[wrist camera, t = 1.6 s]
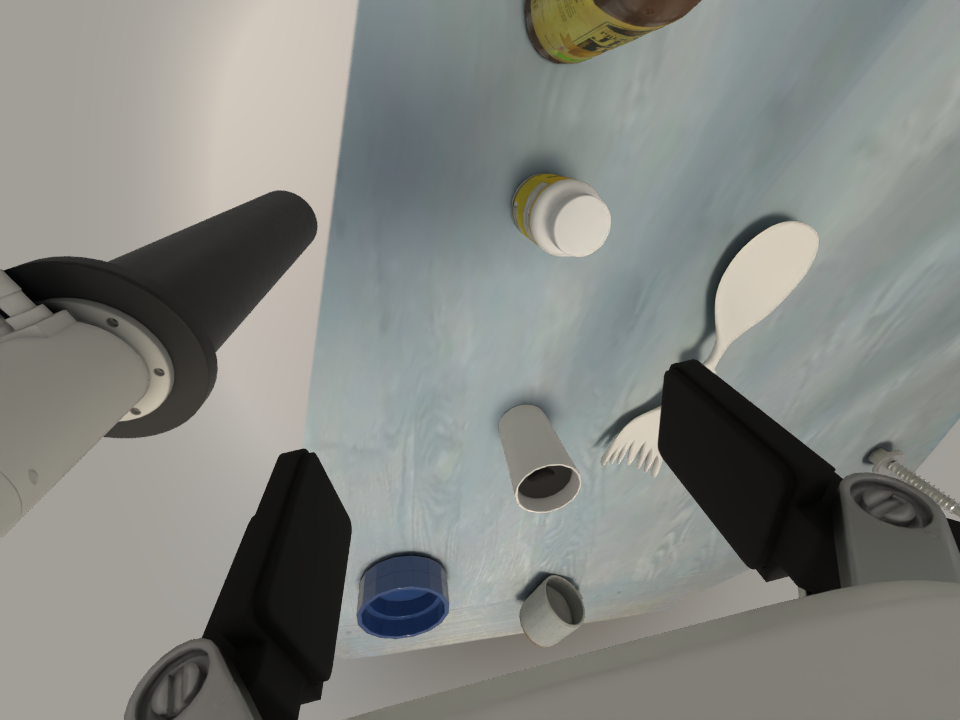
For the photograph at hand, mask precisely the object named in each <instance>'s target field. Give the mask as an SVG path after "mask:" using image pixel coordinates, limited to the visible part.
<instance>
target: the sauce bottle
mask: <svg viewBox="0 0 960 720" xmlns="http://www.w3.org/2000/svg"><path fill="white" fill-rule="evenodd" d="M700 1H701V0H527V1H526V10H525V14H526V19H527V27H528V33H529V37H530V39H531V41H532V43H533V44H534V46H535V48H536V50H537V51H538V52H539V53H540V54H541V55H542V56H543V57H545V58H547V59H549V60H550V61H552V62H554V63H558V64H559V63H560V64H561V63H563V64H565V63H579V62H582V61H585V60H588V59H590V58H592V57H595V56H597V55H600V54H602V53H604V52H606V51H608V50H611V49H614V48H616V47H618V46H621V45H624V44H626V43H628V42H631V41H633V40H635V39H637V38H638V37H641V36H643V35H645V34H647V33H649V32H652V31H655V30H657V29H660V28H662V27H664V26H666V25H668V24H671V23H673V22H675V21H677V20H679V19H680V18H682V17H683V16H685V15H686V14H687V13H688V12H689V11H690V10H691V9H692V8H694V7H695V6H696V5H697V4H698V3H699V2H700Z"/></svg>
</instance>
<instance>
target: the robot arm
mask: <svg viewBox="0 0 960 720" xmlns="http://www.w3.org/2000/svg"><path fill="white" fill-rule="evenodd" d="M21 290H22V289H21V288H20V287H19V286H18V285H17V284H16V283H15V282H14V281H13V280H12V279H11V278H10V277H9V276H8V275H7V274H6V273H5V272H4V271H3V270H0V308H1V309H2V310H3V311H4V312H5V313H6V314H7V315H9V316H10V317H9V318H7V319H5V318H3V317H2V316H1V315H0V539H1V538H2V537H3V536H4V535H5V534H6V533H7V532H8V531H9V530H10V529H11V528H12V527H13V526H14V525H15V524H16V523H17V522H18V521H19V520H20V519H21V518H22V517H23V516H24V515H25V514H26V513H27V512H28V511H29V510H30V509H31V508H32V507H33V506H34V505H35V504H36V503H37V502H38V501H39V500H40V499H41V498H42V497H43V496H44V495H45V494H46V493H47V492H48V491H49V490H50V489H51V488H52V487H53V486H54V485H55V484H56V483H57V482H58V481H59V480H60V479H61V478H62V477H63V476H64V475H65V474H66V473H67V472H68V471H69V470H70V469H71V468H72V467H73V466H74V465H75V464H76V463H77V462H78V461H79V460H80V459H81V458H82V457H83V456H84V455H85V454H86V453H87V452H88V451H89V450H90V449H91V448H92V447H93V446H94V445H95V444H96V443H97V442H98V441H99V440H100V439H101V438H102V437H103V436H104V435H105V434H106V433H107V432H108V431H109V430H110V429H111V428H112V427H113V426H114V425H115V424H116V423H117V422H118V421H128V420H132V419H136V418H140V417H142V416H145V415H147V414H149V413H151V412H152V411H154V410H155V409H156V408H158V407H159V406H160V405H161V404H162V403H163V402H164V401H165V400H166V398H167V397H168V395H169V394H170V392H171V391H172V387H173V384H174V368H173V364H172V360H171V358H170V356H169V354H168V352H167V350H166V348H165V347H164V346H163V344H162V343H161V342H160V340H159V339H158V338H157V337H156V336H155V335H154V334H153V333H152V332H151V331H150V330H149V329H148V328H147V327H145V326H144V325H143V324H141V323H140V322H138V321H137V320H136V319H134V318H133V317H131V316H129V315H127V314H125V313H123V312H122V311H120V310H118V309H115V308H112V307H110V306H107V305H105V304H102V303H98V302H94V301H90V300H86V299H78V298H68V297H67V298H50V299H46V300H41V301H37V302H35V303H33V302H32V301H31V300H30V299H29V298H28V297H27V296H26V295H25V294H24V293H23V292H22V291H21ZM658 450H659V453H660V455H661V457H662V458H663V460H664V461H665V462H666V463H667V465H668V466H669V467H670V469H671V470H672V471H673V472H674V474H675V475H676V476H677V478H678V479H679V480H680V481H681V483H682V484H683V485H684V487H685V488H686V489H687V490H688V492H689V493H690V494H691V495H692V497H693V498H694V499H695V501H696V502H697V503H698V504H699V506H700V507H701V508H702V510H703V511H704V512H705V513H706V515H707V516H708V517H709V519H710V520H711V521H712V522H713V524H714V525H715V526H716V528H717V529H718V530H719V531H720V533H721V534H722V535H723V536H724V538H725V539H726V540H727V542H728V543H729V544H730V545H731V547H732V548H733V549H734V551H735V552H736V553H737V554H738V556H739V557H740V558H741V560H742V561H743V562H744V563H745V564H746V565H747V566H748V567H749V568H751V569H756V570H757V571H758V572H759V574H760V575H761V576H762V577H763V579H764V580H765V581H766V582H769V581H773V580H776V579H780V578H784V577H788V576H789V577H790V578H791V579H792V580H793V581H794V583H795V584H796V585H797V586H798V592H799V598H798V599H794V600H790V601H785V602H781V603H777V604H773V605H769V606H764V607H761V608H757V609H753V610H749V611H745V612H741V613H738V614H734V615H730V616H726V617H722V618H718V619H714V620H711V621H707V622H703V623H699V624H696V625H691V626H688V627H684V628H680V629H676V630H672V631H668V632H665V633H661V634H657V635H653V636H650V637H645V638H642V639H638V640H634V641H630V642H627V643H623V644H619V645H615V646H612V647H608V648H604V649H600V650H597V651H593V652H589V653H585V654H581V655H578V656H574V657H570V658H566V659H563V660H559V661H556V662H551V663H548V664H544V665H540V666H536V667H533V668H529V669H525V670H522V671H518V672H514V673H510V674H507V675H503V676H499V677H496V678H492V679H488V680H485V681H481V682H477V683H473V684H470V685H466V686H462V687H459V688H455V689H451V690H448V691H444V692H441V693H437V694H433V695H430V696H426V697H422V698H419V699H415V700H412V701H408V702H404V703H400V704H397V705H393V706H389V707H385V708H382V709H378V710H375V711H372V712H368V713H365V714H361V715H358V716H355V717H351V718H348V719H344V720H960V522H958V521H955V520H952V519H948V518H946V516H945V515H944V513H943V511H942V510H941V508H940V507H939V505H938V504H937V503H936V502H935V501H934V500H932V499H931V498H930V497H929V496H928V495H927V494H925V493H924V492H922V491H920V490H919V489H917V488H916V487H914V486H912V485H910V484H908V483H905V482H903V481H901V480H899V479H896V478H892V477H889V476H886V475H882V474H875V473H854V474H851V475H849V476H846V477H845V478H844V479H842V478H841V477H840V476H839V475H837V474H836V473H835V472H834V471H835V468H834V467H833V466H831V465H830V464H829V463H828V462H826V461H825V460H824V459H822V458H821V457H820V456H819V455H817V454H816V453H815V452H814V451H812V450H811V449H810V448H808V447H807V446H806V445H805V444H803V443H802V442H801V441H800V440H798V439H797V438H796V437H794V436H793V435H792V434H791V433H789V432H788V431H787V430H786V429H784V428H783V427H782V426H780V425H779V424H778V423H777V422H775V421H774V420H773V419H772V418H770V417H769V416H768V415H766V414H765V413H764V412H763V411H761V410H760V409H759V408H758V407H756V406H755V405H754V404H753V403H751V402H750V401H749V400H747V399H746V398H745V397H744V396H742V395H741V394H740V393H739V392H737V391H736V390H735V389H733V388H732V387H731V386H730V385H728V384H727V383H726V382H725V381H723V380H722V379H721V378H719V377H718V376H717V375H716V374H714V373H713V372H712V371H711V370H709V369H708V368H707V367H705V366H704V365H703V364H702V363H700V362H699V361H697V360H695V359H692V360H688V361H683V362H679V363H674V364H672V365H671V366H670V369H669V370H668V371H666V372H665V375H664V383H663V393H662V403H661V413H660V424H659V434H658ZM351 533H352V526H351V521H350V518H349V516H348V514H347V512H346V510H345V508H344V506H343V505H342V503H341V501H340V499H339V497H338V495H337V493H336V491H335V489H334V487H333V485H332V483H331V482H330V480H329V478H328V476H327V474H326V472H325V470H324V468H323V466H322V464H321V462H320V460H319V458H318V457H317V455H316V454H315V453H314V452H312V453H309V452H308V450H306V449H300V450H295V451H291V452H287V453H282V454H281V455H280V456H279V457H278V459H277V462H276V464H275V467H274V469H273V472H272V474H271V477H270V479H269V482H268V484H267V487H266V489H265V492H264V494H263V497H262V499H261V502H260V504H259V507H258V509H257V512H256V514H255V515H254V516H253V517H252V518H251V520H250V522H249V524H248V526H247V529H246V531H245V534H244V536H243V538H242V541H241V543H240V546H239V548H238V551H237V553H236V556H235V558H234V560H233V563H232V565H231V568H230V570H229V573H228V575H227V578H226V580H225V583H224V585H223V587H222V590H221V592H220V595H219V597H218V600H217V602H216V604H215V607H214V610H213V612H212V614H211V617H210V619H209V622H208V624H207V626H206V629H205V631H204V634H203V636H202V638H199V639H193V640H190V641H187V642H185V643H183V644H181V645H179V646H176V647H175V648H174V649H172V650H171V651H170V652H168V653H167V654H165V655H164V656H163V657H162V658H160V660H159V661H157V663H155V665H153V666H152V667H151V668H150V669H149V671H148V672H147V673H146V674H145V676H144V677H143V678H142V680H141V681H140V682H139V683H138V685H137V687H136V688H135V690H134V692H133V694H132V696H131V698H130V699H129V702H128V705H127V708H126V711H125V714H124V720H298V715H299V710H300V705H301V704H305V703H309V702H313V701H317V700H320V699H321V695H322V688H323V682H324V681H327V680H329V678H330V676H331V672H332V667H333V660H334V653H335V646H336V639H337V632H338V625H339V618H340V611H341V604H342V597H343V590H344V583H345V576H346V569H347V562H348V555H349V547H350V540H351Z"/></svg>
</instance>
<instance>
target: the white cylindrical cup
mask: <svg viewBox="0 0 960 720" xmlns="http://www.w3.org/2000/svg"><path fill="white" fill-rule="evenodd" d="M499 432H500V436H501V440H502V444H503V448H504V452H505V457H506V461H507V465H508V469H509V473H510V477H511V481H512V485H513V489H514V494H515V497H516V500H517V503H518V505H520V506H521V507H522V508H523V509H525V510H526V511H530V512H534V513H545V512H551V511H554V510H557V509H560V508H562V507H563V506H565V505H566V504H568V503H570V502H571V501H572V500H573V499H574V498H575V496H576V495H577V494H578V493H579V490H580V487H581V484H582V482H581V478H580V474H579V472H578V470H577V469H576V467H575V465H574V463H573V462H572V460H571V458H570V457H569V455H568V453H567V451H566V450H565V448H564V446H563V445H562V443H561V441H560V439H559V438H558V436H557V434H556V432H555V431H554V429H553V427H552V426H551V424H550V422H549V420H548V419H547V417H546V415H545V413H544V412H543V411H542V410H541V409H540V408H539V407H536V406H533V405H519V406H516V407H514V408H512V409H510V410H509V411H507V412H506V413H505V414H504V415H503V417H502V418H501V420H500V423H499Z"/></svg>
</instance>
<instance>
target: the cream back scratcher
mask: <svg viewBox="0 0 960 720" xmlns="http://www.w3.org/2000/svg"><path fill="white" fill-rule="evenodd" d="M818 246H819V238H818V235H817V233H816V231H815V230H814V229H813V228H812V227H810V226H809V225H807V224H805V223H802V222H799V221H786V222H782V223H778V224H776V225H774V226H771V227H770V228H768V229H766V230H764V231H763V232H761V233H760V234H758V235H757V236H756V237H754V238H753V239H752V240H751V241H750V242H748V243H747V244H746V245H745V246H744V247H743V248H742V249H741V250H740V251H739V253H738V254H737V255H736V256H735V258H734V259H733V260H732V262H731V263H730V265H729V266H728V268H727V270H726V271H725V273H724V275H723V277H722V279H721V281H720V284H719V287H718V290H717V294H716V299H715V326H716V341H715V344H714V347H713V350H712V352H711V354H710V356H709V357H708V359H707V360H706V361H705V362H704V363H702V364H703V365H704V366H705V367H707V368H708V369H709V370H711V371H712V372H713V373H714V374H716V373H717V372H716V370H715V367H716V365H717V363H718V361H719V360H720V358H721V357H722V355H723V353H724V352H725V350H726V349H727V347H728V346H729V345H730V344H731V343H732V342H733V341H734V340H735V339H736V338H737V337H739V336H740V335H741V334H743V333H744V332H745V331H747V330H748V329H749V328H751V327H752V326H753V325H755V324H756V323H758V322H759V321H761V320H762V319H763V318H765V317H766V316H767V315H768V314H769V313H771V312H772V311H773V310H774V309H775V308H776V307H777V306H778V305H779V304H780V303H781V302H782V301H783V300H784V299H785V298H786V297H787V296H788V294H789V293H790V292H791V291H792V290H793V289H794V288H795V287H796V286H797V285H798V283H799V282H800V281H801V280H802V278H803V277H804V276H805V274H806V273H807V271H808V270H809V268H810V266H811V264H812V263H813V261H814V258H815V256H816V254H817V250H818ZM660 413H661V406H660V407H657V408H655V409H653V410H651V411H648V412H646V413H644V414H642V415H640V416H638V417H636V418H634V419H633V420H632V421H630V422H629V423H628V424H627V425H626V426H625V427H624V428H623V429H622V431H621V432H620V433H619V435H618V436H617V437H616V439H615V440H614V441H613V442H612V444H611V445H610V446H609V447H608V449H607V450H606V451H605V453H604V454H603V456H602V459H601V465H602V466H604V465H605V464H606V463H607V461H608V460H609V458H610V457H611V459H610V464H612V463H613V462H614V461H615V459H616V458H617V456H618V454H619V456H618V460H617V465H618V464H619V463H620V462H621V461H622V459H623V458H624V456H625V454H626V452H627V450H628V449H629V447H630V449H629V452H628V457H627V465H630V464H631V463H632V461H633V460H634V458H635V456H636V455H637V453H638V451H639V450H640V448H641V450H640V454H639V458H638V462H637V469H639V468H640V467H641V465H642V463H643V462H644V460H645V458H646V456H647V458H646V462H645V466H644V472H647V471H648V470H649V468H650V466H651V465H652V463H653V461H654V463H653V467H652V471H651V476H652V477H656V476H657V475H658V473H659V470H660V467H661V463H662V459H663V458H662V457H661V455H660V453H659V450H658V434H659V424H660Z"/></svg>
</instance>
